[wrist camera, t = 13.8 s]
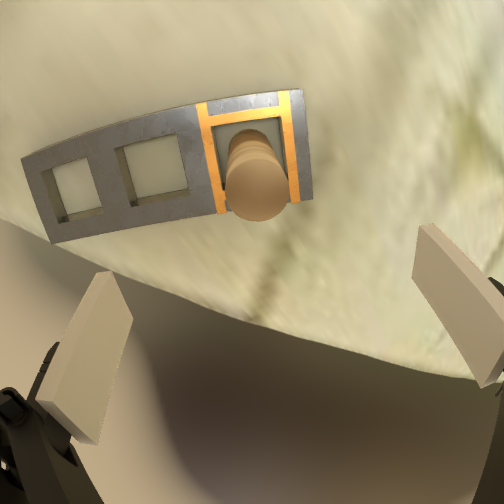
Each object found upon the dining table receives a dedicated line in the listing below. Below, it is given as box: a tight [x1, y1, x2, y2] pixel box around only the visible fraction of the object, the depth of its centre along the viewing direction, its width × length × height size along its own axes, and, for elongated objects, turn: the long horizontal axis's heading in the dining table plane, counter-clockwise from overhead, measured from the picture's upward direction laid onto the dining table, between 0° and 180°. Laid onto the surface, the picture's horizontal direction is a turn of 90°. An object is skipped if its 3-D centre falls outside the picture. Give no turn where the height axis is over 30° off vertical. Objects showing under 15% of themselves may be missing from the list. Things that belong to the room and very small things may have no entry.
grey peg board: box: [21, 89, 313, 244], centre depth 33 cm, size 12×33×3 cm, turn 98°
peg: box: [225, 129, 290, 221], centre depth 27 cm, size 4×4×14 cm
